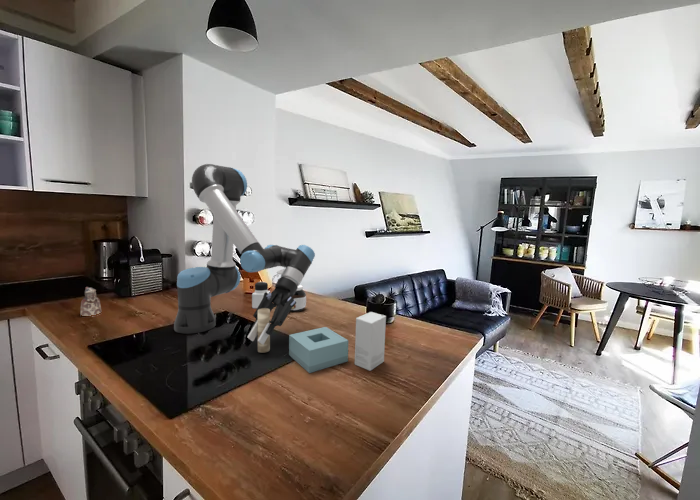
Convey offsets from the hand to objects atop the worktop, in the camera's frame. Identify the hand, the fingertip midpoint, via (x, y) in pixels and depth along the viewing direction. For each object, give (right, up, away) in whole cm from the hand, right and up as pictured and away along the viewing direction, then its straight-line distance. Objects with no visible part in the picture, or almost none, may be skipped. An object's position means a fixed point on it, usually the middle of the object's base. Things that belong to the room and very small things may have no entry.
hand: (255, 340), depth 104 cm
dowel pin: (+2, -4, +4) cm, 6 cm away
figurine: (-82, +1, +35) cm, 90 cm away
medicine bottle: (-13, +2, +53) cm, 55 cm away
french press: (-6, +4, +71) cm, 72 cm away
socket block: (+21, -6, 0) cm, 21 cm away
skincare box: (+37, -7, -3) cm, 38 cm away
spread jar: (+3, 0, +48) cm, 48 cm away
